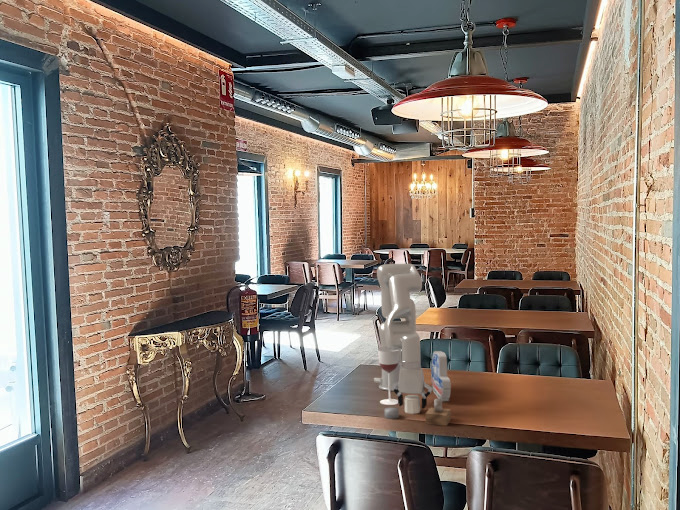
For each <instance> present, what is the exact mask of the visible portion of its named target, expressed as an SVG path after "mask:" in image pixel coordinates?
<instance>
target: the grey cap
mask: <svg viewBox="0 0 680 510" xmlns="http://www.w3.org/2000/svg"><path fill="white" fill-rule="evenodd" d="M383 412H384V418H385V419H388V420H394V419H398V418H399V417H400V415H399V413H400V412H399V408H398V407H393V406H391V407H386V408H384V410H383Z"/></svg>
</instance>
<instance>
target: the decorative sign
mask: <svg viewBox="0 0 680 510" xmlns="http://www.w3.org/2000/svg"><path fill="white" fill-rule="evenodd" d="M447 358H448V357H447V355H446V353H445V352H444V351H442V350H434V351H433V353H432V358H431V362H430V364H431V365H430V374H431V376H430V379H431V387H433V390H432V392H433V393H434V395H435V396H436V397H437V399H442V403H443V402H449V401H450V398H451V393H452V392H451V391H452V390H451V388H452V386H451V385H452V383H451V379H450V377H449V376H448V359H447Z"/></svg>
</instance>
